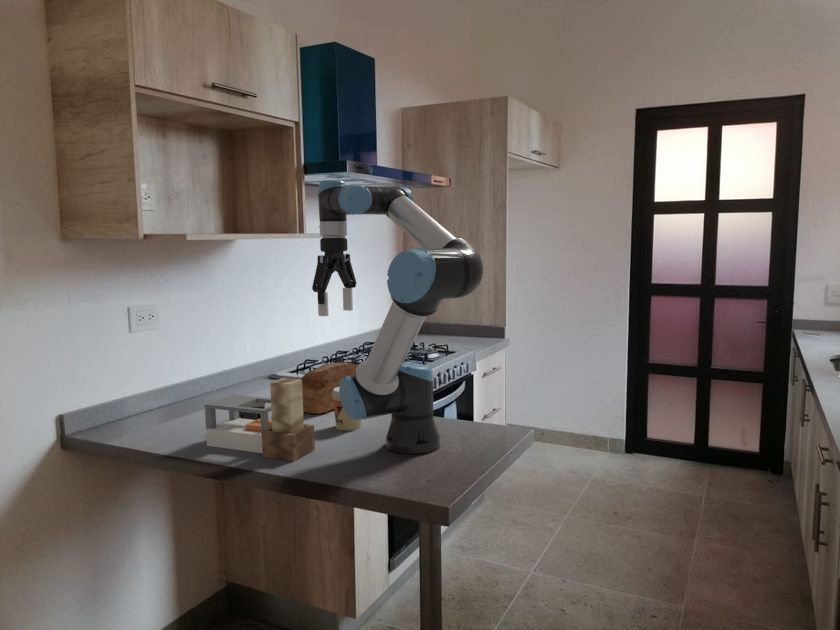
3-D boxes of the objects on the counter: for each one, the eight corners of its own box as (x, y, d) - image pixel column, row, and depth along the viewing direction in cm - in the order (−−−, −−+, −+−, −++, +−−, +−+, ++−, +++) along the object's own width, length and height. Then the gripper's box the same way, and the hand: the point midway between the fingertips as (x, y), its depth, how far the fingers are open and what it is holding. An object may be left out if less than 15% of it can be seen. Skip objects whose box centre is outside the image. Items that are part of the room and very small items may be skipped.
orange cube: (277, 441, 189) (276, 420, 188) (264, 448, 183) (263, 426, 183) (259, 439, 191) (258, 418, 191) (246, 445, 186) (245, 424, 185)
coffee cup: (329, 425, 206) (327, 387, 204) (357, 421, 210) (356, 384, 208) (339, 433, 197) (338, 393, 196) (368, 428, 202) (367, 389, 200)
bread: (370, 399, 238) (369, 359, 237) (319, 417, 215) (318, 374, 213) (344, 395, 245) (343, 357, 243) (292, 413, 221) (290, 371, 219)
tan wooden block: (304, 451, 181) (301, 379, 179) (292, 458, 176) (289, 384, 173) (286, 448, 184) (283, 378, 181) (273, 455, 178) (270, 382, 176)
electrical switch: (264, 423, 209) (263, 395, 207) (268, 429, 204) (267, 401, 202) (234, 427, 205) (233, 399, 203) (236, 434, 200) (235, 404, 199)
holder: (315, 449, 182) (314, 425, 181) (294, 461, 173) (293, 435, 172) (284, 445, 186) (283, 421, 185) (262, 457, 177) (261, 431, 176)
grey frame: (290, 440, 191) (288, 400, 189) (265, 453, 180) (263, 410, 178) (234, 433, 199) (232, 394, 197) (207, 445, 188) (204, 404, 186)
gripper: (344, 237, 197) (346, 307, 199) (296, 238, 174) (300, 318, 177) (366, 236, 194) (368, 308, 197) (321, 237, 171) (324, 318, 174)
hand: (336, 313), depth 187 cm, fingers open, 13 cm apart
